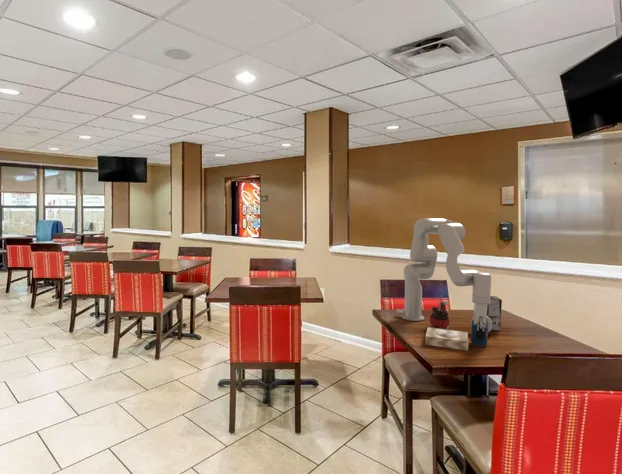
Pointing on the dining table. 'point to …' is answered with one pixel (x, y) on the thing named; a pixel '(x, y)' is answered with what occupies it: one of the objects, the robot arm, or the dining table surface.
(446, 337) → the block
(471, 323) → the donut
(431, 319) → the cake
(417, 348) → the dining table surface
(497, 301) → the coffee box
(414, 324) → the dining table surface
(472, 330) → the soda can
